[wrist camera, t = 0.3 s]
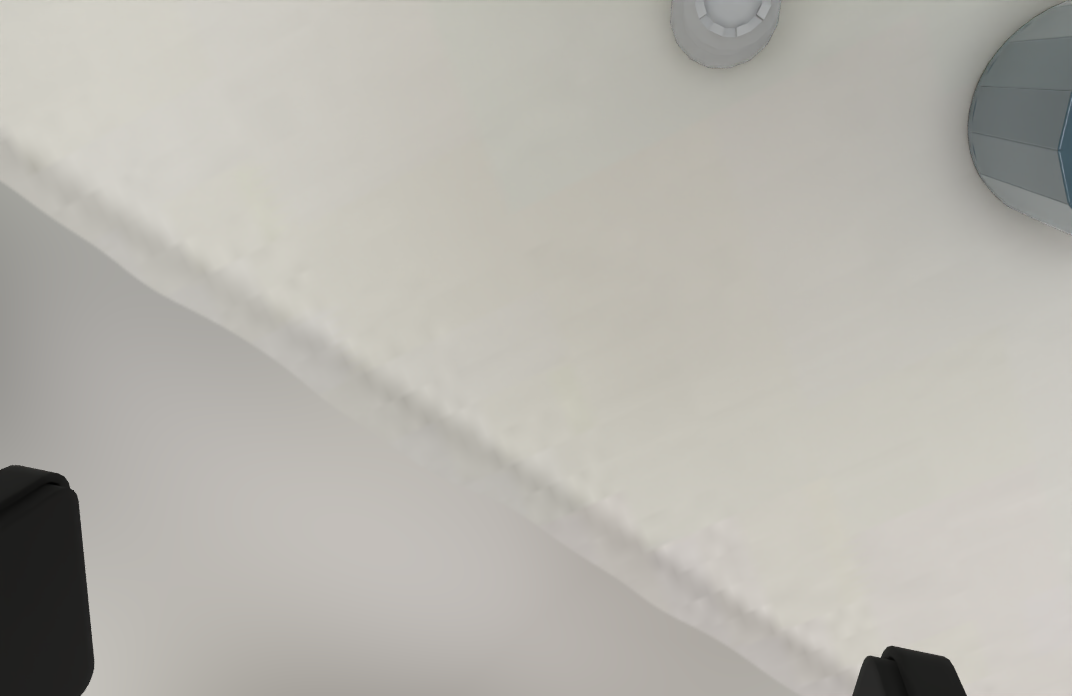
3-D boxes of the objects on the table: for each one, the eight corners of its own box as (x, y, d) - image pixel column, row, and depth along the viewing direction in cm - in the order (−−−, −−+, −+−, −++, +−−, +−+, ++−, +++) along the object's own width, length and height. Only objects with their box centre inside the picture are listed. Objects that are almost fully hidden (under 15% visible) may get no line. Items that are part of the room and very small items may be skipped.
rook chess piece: (774, -57, 32) (799, -95, 25) (782, 58, 33) (809, 54, 26) (664, -34, 33) (656, -64, 26) (676, 77, 34) (673, 79, 27)
